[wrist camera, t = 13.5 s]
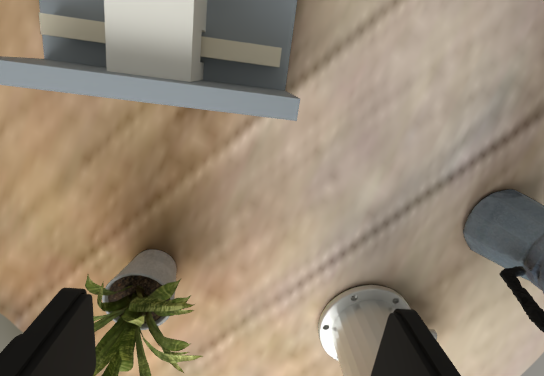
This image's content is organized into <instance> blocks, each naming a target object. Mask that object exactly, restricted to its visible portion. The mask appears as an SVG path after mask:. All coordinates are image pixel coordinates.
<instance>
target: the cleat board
mask: <svg viewBox="0 0 544 376" xmlns="http://www.w3.org/2000/svg"><path fill="white" fill-rule="evenodd" d="M39 5H40V13H39V20H40V31H41V34H42V37H43V48H44V58H45V59H36V58H19V57H2V56H0V85H7V86H15V87H24V88H32V89H40V90H48V91H56V92H65V93H73V94H81V95H89V96H97V97H106V98H114V99H122V100H130V101H138V102H146V103H155V104H163V105H171V106H179V107H187V108H196V109H204V110H212V111H220V112H228V113H237V114H245V115H253V116H261V117H269V118H278V119H286V120H294V121H297V116H298V109H299V103H300V99H299V98H298V97H296V96H294V95H292V94H290V93H288V92H287V91H285V87H286V79H287V72H288V65H289V57H290V50H291V43H292V35H293V28H294V21H295V13H296V6H297V0H207V14H206V32H202V34H201V54H200V62H202V63H204V70H203V80H198V81H193V82H187V81H179V80H172V79H164V78H156V77H148V76H140V75H132V74H125V73H117V72H109V71H107V66H106V40H105V14H104V0H39Z"/></svg>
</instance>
